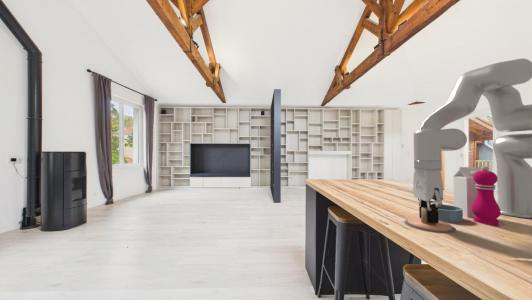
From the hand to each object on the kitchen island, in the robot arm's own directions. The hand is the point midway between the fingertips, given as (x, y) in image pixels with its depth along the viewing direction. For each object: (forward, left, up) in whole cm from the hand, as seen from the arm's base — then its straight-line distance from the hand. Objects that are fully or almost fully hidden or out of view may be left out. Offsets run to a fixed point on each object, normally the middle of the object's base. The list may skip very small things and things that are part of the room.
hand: (428, 219), depth 73 cm
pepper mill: (-21, -7, -2) cm, 22 cm away
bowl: (-10, -10, -2) cm, 14 cm away
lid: (0, 0, -2) cm, 2 cm away
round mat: (0, 0, -2) cm, 2 cm away
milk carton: (-22, -16, -3) cm, 27 cm away
